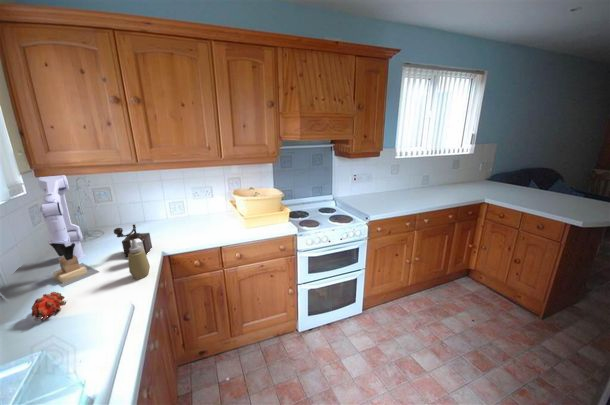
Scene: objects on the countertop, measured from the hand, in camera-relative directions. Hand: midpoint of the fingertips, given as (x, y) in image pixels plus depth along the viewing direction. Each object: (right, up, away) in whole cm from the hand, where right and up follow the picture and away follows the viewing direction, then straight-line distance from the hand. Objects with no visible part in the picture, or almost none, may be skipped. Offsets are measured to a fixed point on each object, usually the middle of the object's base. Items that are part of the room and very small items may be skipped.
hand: (66, 257), depth 117 cm
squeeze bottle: (+32, -9, +3) cm, 34 cm away
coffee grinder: (+17, -4, +23) cm, 29 cm away
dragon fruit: (+15, -17, -22) cm, 31 cm away
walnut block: (0, -6, +2) cm, 6 cm away
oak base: (0, -9, +3) cm, 9 cm away
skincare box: (+25, -6, +15) cm, 29 cm away
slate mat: (0, -9, +4) cm, 10 cm away
